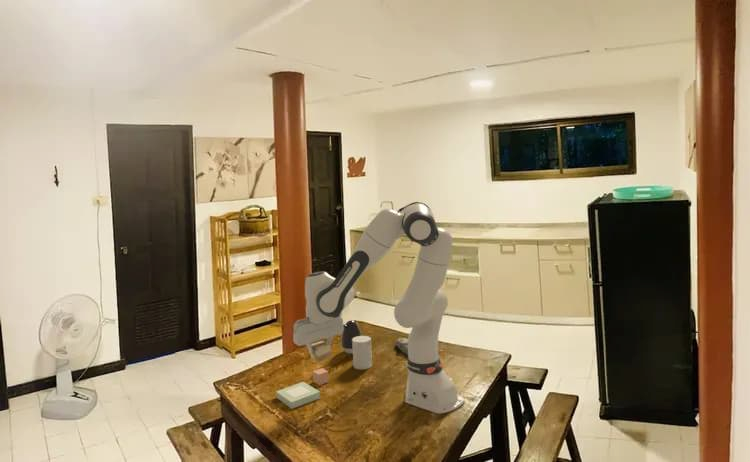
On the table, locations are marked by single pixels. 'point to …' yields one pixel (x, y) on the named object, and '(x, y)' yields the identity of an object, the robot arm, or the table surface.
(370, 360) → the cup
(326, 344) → the beech block
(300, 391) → the sage base
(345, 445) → the table surface
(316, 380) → the terracotta block
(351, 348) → the pump dispenser
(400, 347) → the elongated rock
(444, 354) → the table surface
